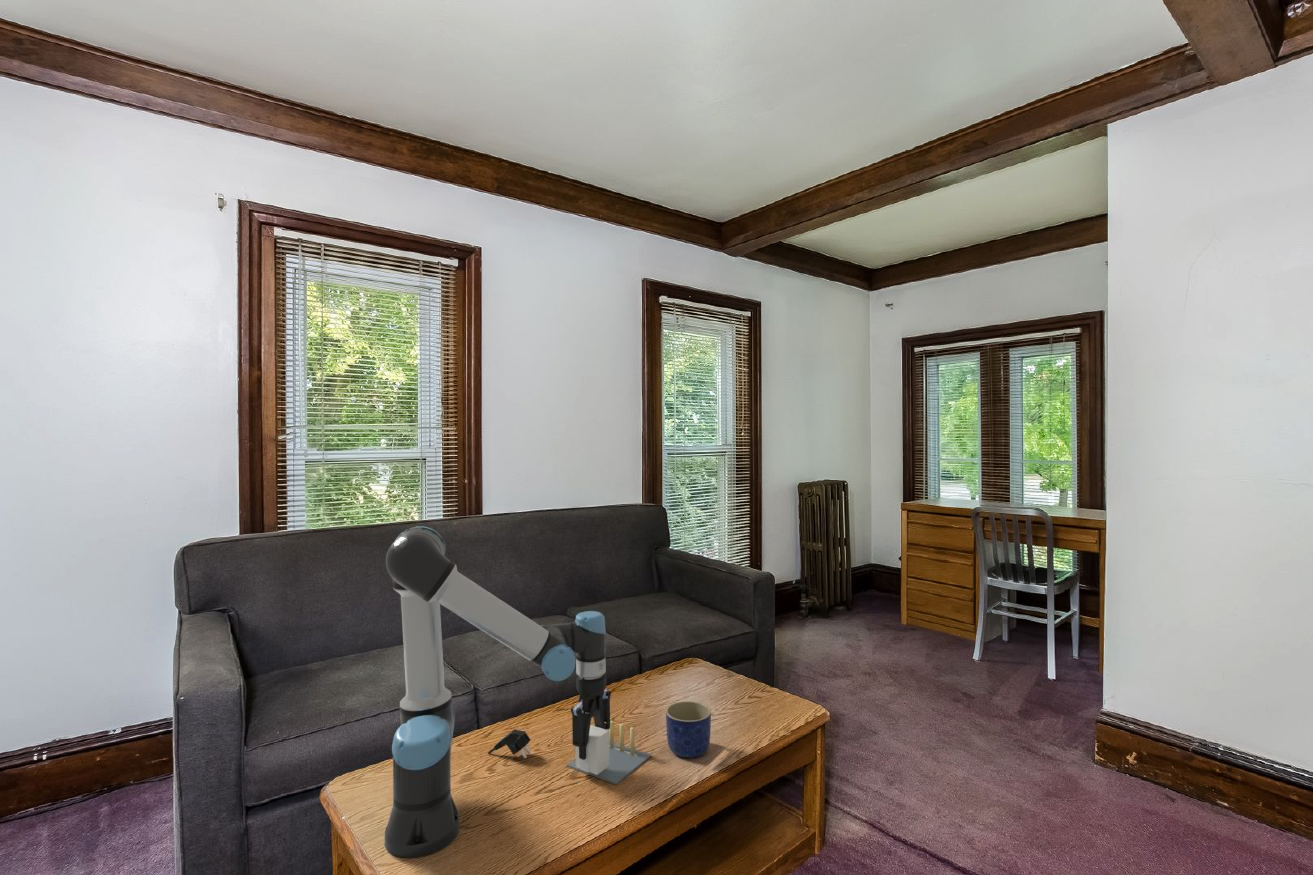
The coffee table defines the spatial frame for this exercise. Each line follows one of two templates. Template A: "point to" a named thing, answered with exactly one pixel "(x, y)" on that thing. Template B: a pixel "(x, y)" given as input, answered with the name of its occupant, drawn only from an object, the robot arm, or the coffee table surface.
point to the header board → (619, 758)
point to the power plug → (514, 742)
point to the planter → (688, 728)
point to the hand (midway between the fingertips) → (592, 764)
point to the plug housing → (596, 750)
